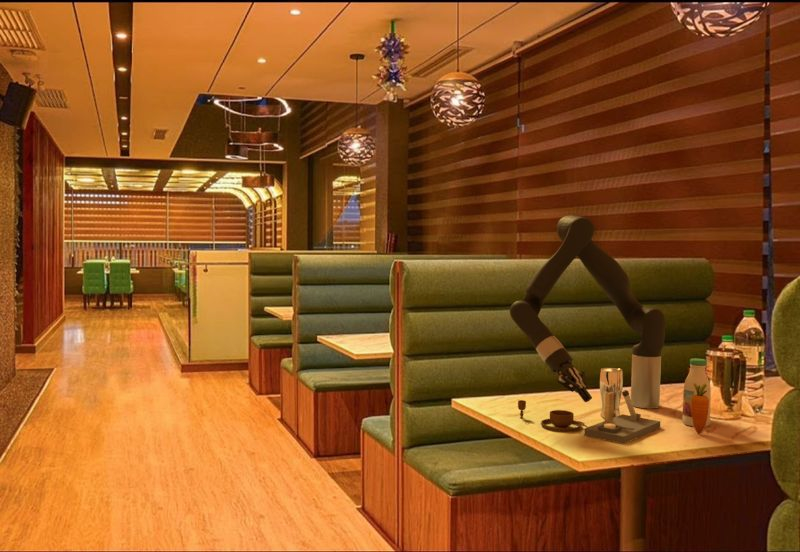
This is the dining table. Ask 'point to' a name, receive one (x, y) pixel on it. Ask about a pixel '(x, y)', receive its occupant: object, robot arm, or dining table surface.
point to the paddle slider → (609, 408)
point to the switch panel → (623, 428)
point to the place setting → (556, 419)
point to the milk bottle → (699, 378)
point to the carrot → (699, 408)
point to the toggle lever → (629, 402)
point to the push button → (610, 426)
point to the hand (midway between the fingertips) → (588, 400)
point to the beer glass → (611, 387)
